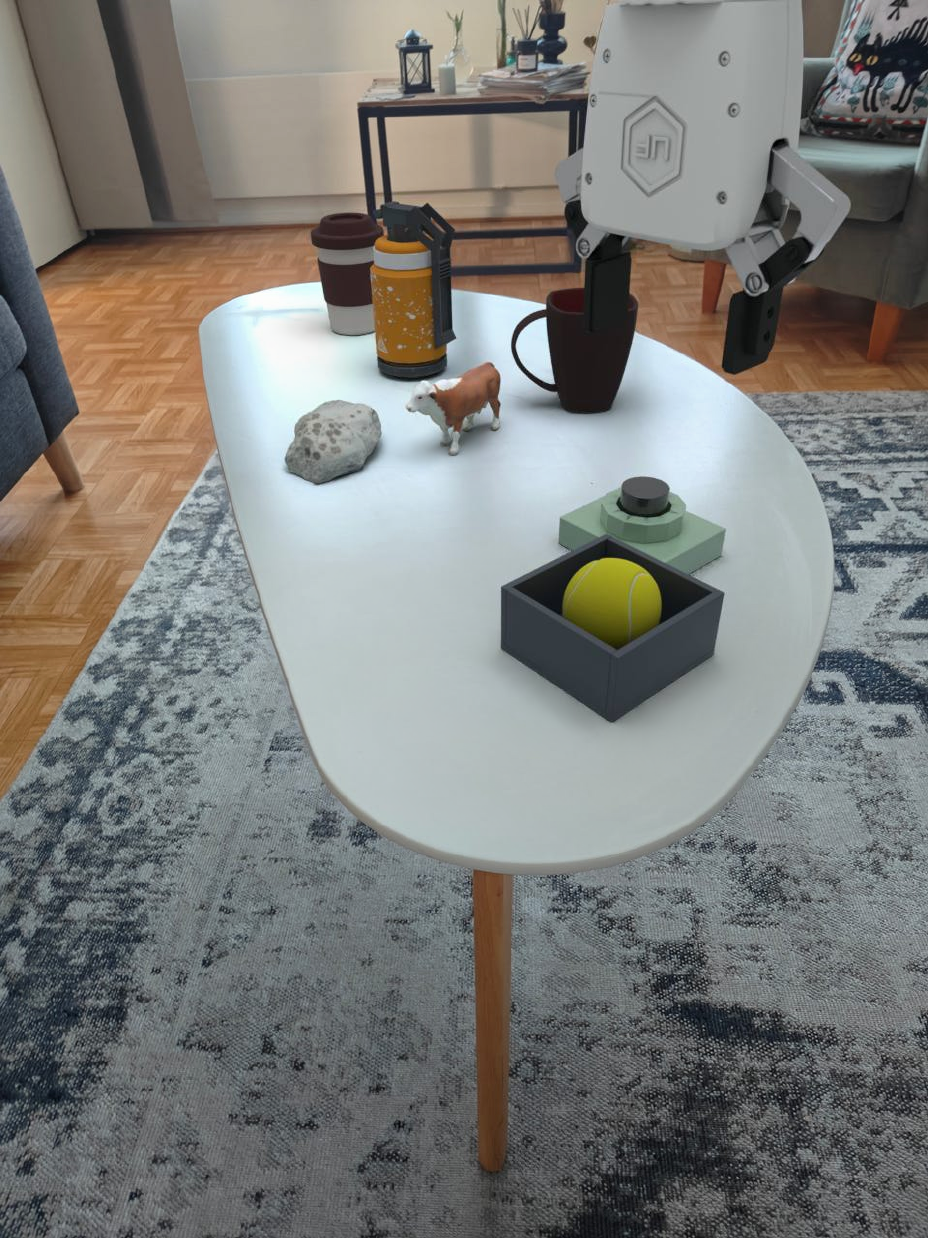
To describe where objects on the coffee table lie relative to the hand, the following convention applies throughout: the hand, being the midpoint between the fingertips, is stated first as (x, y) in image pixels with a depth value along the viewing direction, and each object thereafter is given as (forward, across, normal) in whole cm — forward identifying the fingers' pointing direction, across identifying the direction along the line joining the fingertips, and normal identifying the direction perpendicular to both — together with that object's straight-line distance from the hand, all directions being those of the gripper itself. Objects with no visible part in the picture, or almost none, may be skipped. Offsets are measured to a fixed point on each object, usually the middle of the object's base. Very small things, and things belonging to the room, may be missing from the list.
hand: (670, 345), depth 50 cm
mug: (+24, -40, +33) cm, 57 cm away
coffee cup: (+23, -81, +31) cm, 90 cm away
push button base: (+24, -12, +14) cm, 31 cm away
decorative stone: (+24, -47, +5) cm, 53 cm away
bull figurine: (+24, -40, +17) cm, 50 cm away
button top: (+20, -12, +15) cm, 28 cm away
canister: (+24, -61, +27) cm, 71 cm away
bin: (+24, -4, +2) cm, 25 cm away
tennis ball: (+24, -4, +2) cm, 24 cm away
